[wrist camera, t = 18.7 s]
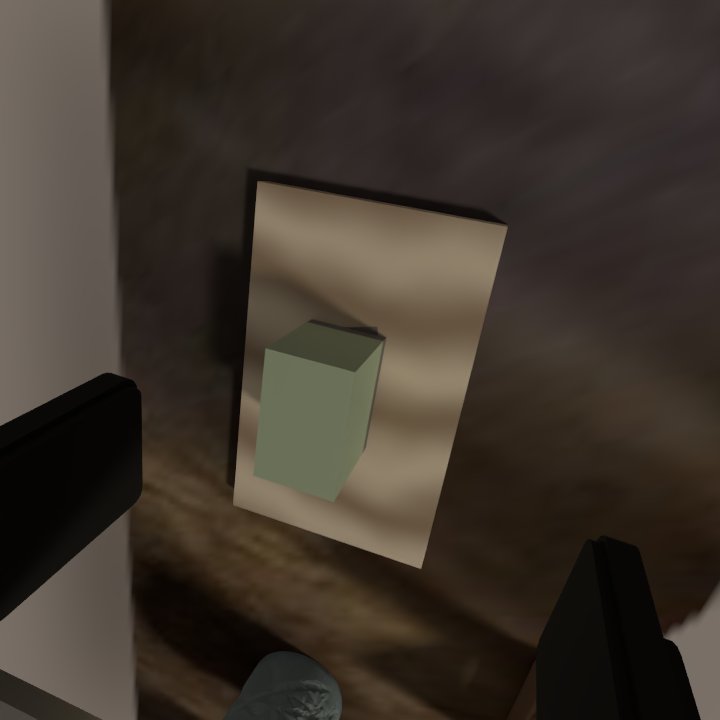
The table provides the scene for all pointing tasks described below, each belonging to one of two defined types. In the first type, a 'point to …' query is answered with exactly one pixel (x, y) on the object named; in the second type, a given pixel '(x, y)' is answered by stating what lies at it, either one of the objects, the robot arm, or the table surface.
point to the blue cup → (288, 691)
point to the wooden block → (525, 699)
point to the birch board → (400, 358)
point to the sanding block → (316, 406)
